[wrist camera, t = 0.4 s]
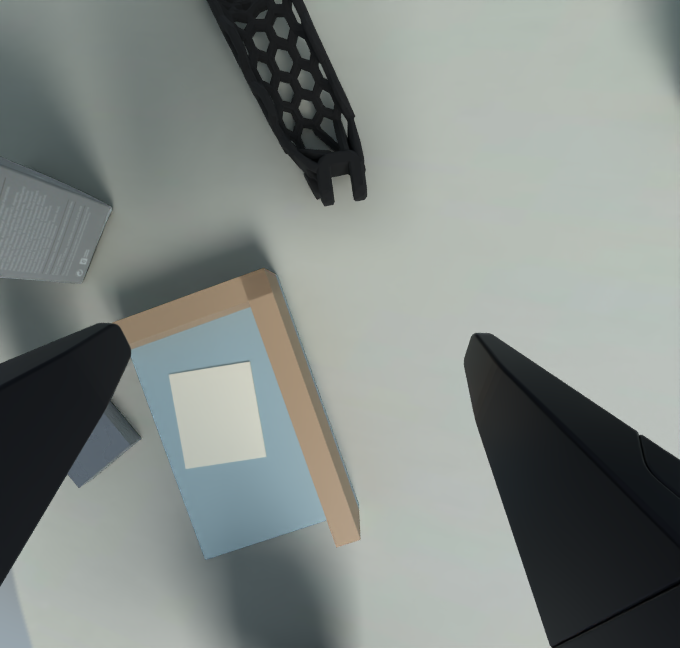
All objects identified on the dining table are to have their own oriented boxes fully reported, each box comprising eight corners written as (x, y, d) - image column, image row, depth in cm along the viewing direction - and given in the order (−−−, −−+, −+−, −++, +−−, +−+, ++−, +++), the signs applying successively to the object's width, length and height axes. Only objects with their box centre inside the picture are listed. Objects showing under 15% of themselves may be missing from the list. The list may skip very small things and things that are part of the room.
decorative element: (177, -37, 23) (116, -158, 17) (237, -75, 23) (196, -212, 17) (327, 234, 23) (319, 208, 17) (388, 200, 23) (400, 161, 17)
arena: (358, 504, 23) (360, 539, 20) (208, 553, 24) (183, 596, 20) (277, 274, 23) (263, 267, 19) (126, 329, 23) (86, 332, 20)
